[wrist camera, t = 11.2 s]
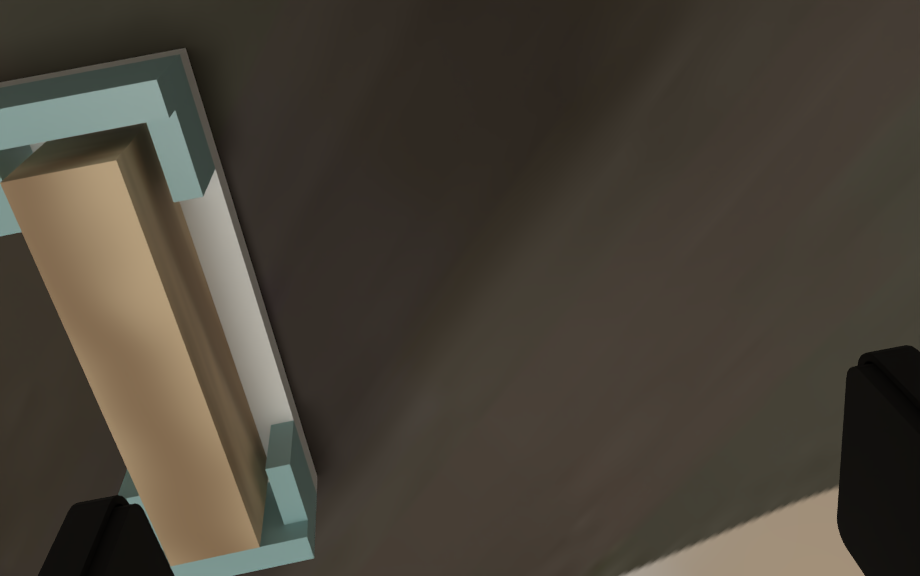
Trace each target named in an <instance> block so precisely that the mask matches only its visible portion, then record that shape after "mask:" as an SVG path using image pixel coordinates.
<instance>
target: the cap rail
mask: <svg viewBox="0 0 920 576" xmlns="http://www.w3.org/2000/svg"><path fill="white" fill-rule="evenodd" d="M141 123H147V126H148V129H149V132H150V135H151V138H152V141H153V144H154V146H155V149H156V152H157V155H158V158H159V161H160V164H161V167H162V170H163V173H164V176H165V179H166V181H167V184H168V187H169V190H170V193H171V196H172V199H173V202H180V205H181V208H182V211H183V214H184V217H185V220H186V223H187V226H188V228H189V231H190V234H191V237H192V240H193V243H194V246H195V249H196V252H197V255H198V258H199V261H200V264H201V266H202V269H203V272H204V275H205V278H206V281H207V284H208V287H209V290H210V293H211V296H212V299H213V302H214V305H215V307H216V310H217V313H218V316H219V319H220V322H221V325H222V328H223V331H224V334H225V337H226V340H227V343H228V345H229V348H230V351H231V354H232V357H233V360H234V363H235V366H236V369H237V372H238V375H239V378H240V381H241V383H242V386H243V389H244V392H245V395H246V398H247V401H248V404H249V407H250V410H251V413H252V416H253V419H254V422H255V424H256V427H257V430H258V433H259V436H260V439H261V442H262V445H263V448H264V451H265V454H266V457H267V460H266V468H265V470H266V473H267V476H268V484H267V492H266V500H265V509H264V517H263V525H262V533H261V542H260V547H259V548H254V549H250V550H245V551H240V552H236V553H231V554H226V555H222V556H217V557H212V558H208V559H203V560H198V561H194V562H189V563H184V564H180V565H175V566H170V567H171V569H172V571H173V573H174V575H175V576H233V575H238V574H243V573H247V572H252V571H257V570H261V569H266V568H271V567H275V566H280V565H285V564H289V563H294V562H299V561H303V560H308V559H313V558H314V548H315V523H316V498H317V474H316V471H315V468H314V464H313V461H312V458H311V455H310V451H309V448H308V445H307V442H306V438H305V435H304V432H303V429H302V425H301V422H300V419H299V415H298V412H297V409H296V406H295V402H294V399H293V396H292V393H291V389H290V386H289V383H288V380H287V376H286V373H285V370H284V367H283V363H282V360H281V357H280V354H279V350H278V347H277V344H276V341H275V337H274V334H273V331H272V328H271V324H270V321H269V318H268V315H267V311H266V308H265V305H264V302H263V298H262V295H261V292H260V289H259V285H258V282H257V279H256V276H255V272H254V269H253V266H252V262H251V259H250V256H249V253H248V249H247V246H246V243H245V240H244V236H243V233H242V230H241V227H240V223H239V220H238V217H237V214H236V210H235V207H234V204H233V201H232V197H231V194H230V191H229V188H228V184H227V181H226V178H225V175H224V171H223V168H222V165H221V162H220V158H219V155H218V152H217V149H216V145H215V142H214V139H213V136H212V132H211V129H210V126H209V123H208V119H207V116H206V113H205V109H204V106H203V103H202V100H201V96H200V93H199V90H198V87H197V83H196V80H195V77H194V74H193V70H192V67H191V64H190V61H189V57H188V54H187V51H186V48H182V49H177V50H171V51H166V52H161V53H155V54H150V55H145V56H139V57H134V58H128V59H123V60H118V61H112V62H107V63H102V64H96V65H91V66H86V67H80V68H75V69H69V70H64V71H59V72H53V73H48V74H43V75H37V76H32V77H27V78H21V79H16V80H10V81H5V82H0V182H1V181H2V180H4V179H5V178H6V177H7V176H8V175H9V174H10V173H11V172H13V171H14V170H15V169H16V168H17V167H18V166H19V165H20V164H21V163H23V162H24V161H25V160H26V159H27V158H28V157H29V156H30V155H32V154H33V153H34V152H35V151H36V150H37V149H38V148H39V147H40V146H42V145H43V144H44V143H45V142H46V141H51V140H56V139H62V138H67V137H72V136H78V135H83V134H88V133H93V132H99V131H104V130H109V129H114V128H120V127H125V126H130V125H135V124H141ZM19 232H22V231H21V229H20V227H19V224H18V222H17V220H16V218H15V215H14V213H13V211H12V209H11V207H10V204H9V202H8V200H7V198H6V195H5V193H4V191H3V189H2V186H1V184H0V236H4V235H9V234H14V233H19ZM118 495H120V496H123V497H124V498H125V499H127V501H128V503H129V504H134V503H136V504H139V505H140V506H141V507H142V508H143V510H144V512H145V514H146V516H147V518H148V520H149V522H150V525H151V527H152V529H153V531H154V533H155V535H156V537H157V534H156V532H155V530H154V528H153V525H152V523H151V521H150V519H149V516H148V514H147V512H146V510H145V507H144V505H143V503H142V501H141V498H140V496H139V494H138V492H137V489H136V487H135V485H134V483H133V480H132V478H131V476H130V474H129V471H128V469H127V472H126V474H125V477H124V480H123V483H122V485H121V488H120V491H119V494H118ZM157 539H158V537H157ZM158 542H159V544H160V546H161V543H160V541H159V539H158ZM161 548H162V546H161ZM162 550H163V548H162ZM163 552H164V550H163ZM164 554H165V552H164ZM165 556H166V555H165ZM166 559H167V557H166ZM167 561H168V559H167ZM168 563H169V561H168ZM169 565H170V563H169Z"/></svg>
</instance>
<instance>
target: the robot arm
mask: <svg viewBox="0 0 920 576" xmlns="http://www.w3.org/2000/svg"><path fill="white" fill-rule="evenodd" d="M837 524H838V529H839V532H840V535H841V538H842V540H843V543H844V544H845V546H846V548H847V549H848V551H849V552H850V554H851V555H852V557H853V558H854V560H855V561H856V563H857V564H858V566H859V567H860V569H861V570H862V572H863V573H864V575H865V576H920V352H919V351H918V350H917V349H915V348H914V347H912V346H908V345H905V346H900V347H894V348H889V349H884V350H879V351H873V352H868V353H865V354H863V355H861V357H860V359H859V361H858V366H855V367H851V368H850V369H849V370H848V372H847V377H846V392H845V407H844V421H843V436H842V451H841V465H840V480H839V495H838V511H837ZM38 576H175V575H174V573H173V571H172V569H171V567H170V565H169V563H168V561H167V559H166V556H165V554H164V552H163V550H162V548H161V546H160V544H159V542H158V539H157V537H156V535H155V533H154V531H153V529H152V527H151V525H150V522H149V520H148V518H147V516H146V514H145V512H144V510H143V508H142V507H141V506H140V505H139V504H136V503H134V504H129V503H128V501H127V499H125V498H124V497H123V496H120V495H116V496H111V497H106V498H100V499H95V500H90V501H85V502H79V503H76V504H74V505H73V506H72V507H71V508H70V510H69V511H68V513H67V515H66V518H65V520H64V522H63V524H62V526H61V528H60V530H59V532H58V534H57V537H56V539H55V541H54V543H53V545H52V547H51V549H50V551H49V553H48V556H47V558H46V560H45V562H44V564H43V566H42V568H41V570H40V572H39V574H38Z"/></svg>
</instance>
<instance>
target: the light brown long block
mask: <svg viewBox="0 0 920 576" xmlns="http://www.w3.org/2000/svg"><path fill="white" fill-rule="evenodd" d="M0 184H1V186H2V189H3V191H4V193H5V195H6V198H7V200H8V202H9V204H10V207H11V209H12V211H13V213H14V215H15V218H16V220H17V222H18V224H19V227H20V229H21V231H22V233H23V236H24V238H25V240H26V242H27V245H28V247H29V249H30V251H31V254H32V256H33V258H34V260H35V263H36V265H37V267H38V269H39V272H40V274H41V276H42V278H43V281H44V283H45V285H46V287H47V290H48V292H49V294H50V296H51V299H52V301H53V303H54V305H55V308H56V310H57V312H58V314H59V317H60V319H61V321H62V323H63V326H64V328H65V330H66V332H67V334H68V337H69V339H70V341H71V343H72V346H73V348H74V350H75V352H76V355H77V357H78V359H79V361H80V364H81V366H82V368H83V370H84V373H85V375H86V377H87V379H88V382H89V384H90V386H91V388H92V391H93V393H94V395H95V397H96V400H97V402H98V404H99V406H100V409H101V411H102V413H103V415H104V418H105V420H106V422H107V424H108V427H109V429H110V431H111V433H112V436H113V438H114V440H115V442H116V444H117V447H118V449H119V451H120V453H121V456H122V458H123V460H124V462H125V465H126V467H127V469H128V471H129V474H130V476H131V478H132V480H133V483H134V485H135V487H136V489H137V492H138V494H139V496H140V498H141V501H142V503H143V505H144V507H145V510H146V512H147V514H148V516H149V519H150V521H151V523H152V525H153V528H154V530H155V532H156V534H157V537H158V539H159V541H160V543H161V546H162V548H163V550H164V552H165V555H166V557H167V559H168V561H169V563H170V566H175V565H180V564H184V563H189V562H194V561H198V560H203V559H208V558H212V557H217V556H222V555H226V554H231V553H236V552H240V551H245V550H250V549H254V548H259V547H260V542H261V533H262V525H263V517H264V509H265V500H266V492H267V484H268V476H267V473H266V470H265V468H266V460H267V457H266V454H265V451H264V448H263V445H262V442H261V439H260V436H259V433H258V430H257V427H256V424H255V422H254V419H253V416H252V413H251V410H250V407H249V404H248V401H247V398H246V395H245V392H244V389H243V386H242V383H241V381H240V378H239V375H238V372H237V369H236V366H235V363H234V360H233V357H232V354H231V351H230V348H229V345H228V343H227V340H226V337H225V334H224V331H223V328H222V325H221V322H220V319H219V316H218V313H217V310H216V307H215V305H214V302H213V299H212V296H211V293H210V290H209V287H208V284H207V281H206V278H205V275H204V272H203V269H202V266H201V264H200V261H199V258H198V255H197V252H196V249H195V246H194V243H193V240H192V237H191V234H190V231H189V228H188V226H187V223H186V220H185V217H184V214H183V211H182V208H181V205H180V202H173V199H172V196H171V193H170V190H169V187H168V184H167V181H166V179H165V176H164V173H163V170H162V167H161V164H160V161H159V158H158V155H157V152H156V149H155V146H154V144H153V141H152V138H151V135H150V132H149V129H148V126H147V123H141V124H135V125H130V126H125V127H120V128H114V129H109V130H104V131H99V132H93V133H88V134H83V135H78V136H72V137H67V138H62V139H56V140H51V141H46V142H45V143H44V144H43V145H42V146H40V147H39V148H38V149H37V150H36V151H35V152H34V153H33V154H32V155H30V156H29V157H28V158H27V159H26V160H25V161H24V162H23V163H21V164H20V165H19V166H18V167H17V168H16V169H15V170H14V171H13V172H11V173H10V174H9V175H8V176H7V177H6V178H5V179H4V180H2V181H1V182H0Z"/></svg>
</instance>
